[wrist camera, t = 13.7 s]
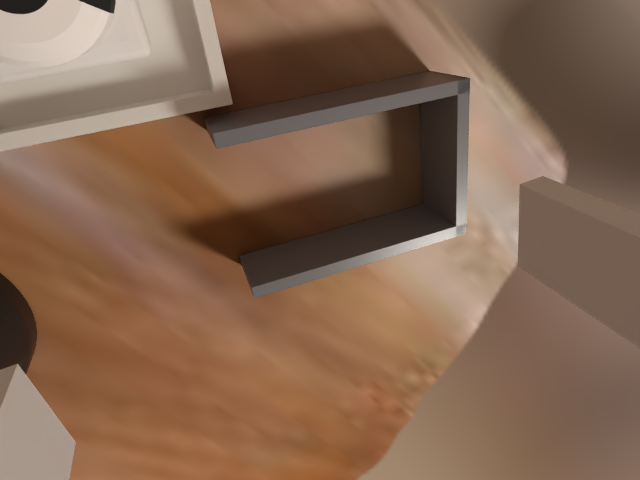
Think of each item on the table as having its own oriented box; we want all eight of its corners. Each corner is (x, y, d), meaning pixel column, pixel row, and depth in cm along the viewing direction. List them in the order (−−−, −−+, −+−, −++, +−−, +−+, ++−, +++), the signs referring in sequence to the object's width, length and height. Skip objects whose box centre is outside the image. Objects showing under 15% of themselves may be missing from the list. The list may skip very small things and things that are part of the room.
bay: (241, 265, 39) (254, 298, 35) (203, 117, 33) (212, 133, 29) (432, 210, 44) (466, 233, 39) (429, 70, 38) (469, 77, 33)
